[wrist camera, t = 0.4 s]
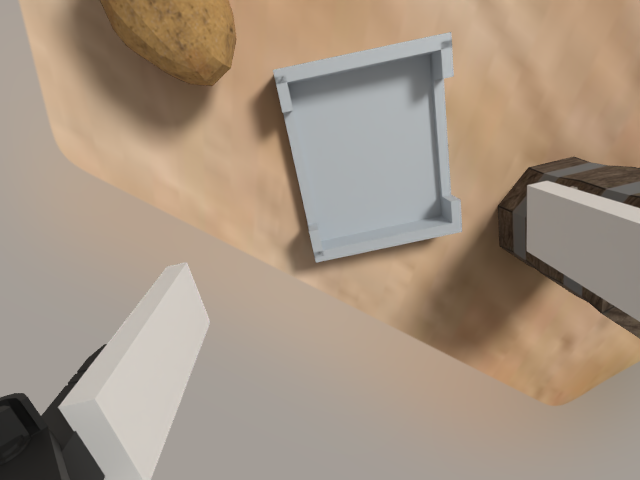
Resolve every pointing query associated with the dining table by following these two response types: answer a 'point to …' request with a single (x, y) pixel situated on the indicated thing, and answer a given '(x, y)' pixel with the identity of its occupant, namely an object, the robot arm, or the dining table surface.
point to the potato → (178, 35)
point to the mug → (578, 174)
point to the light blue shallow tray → (372, 146)
